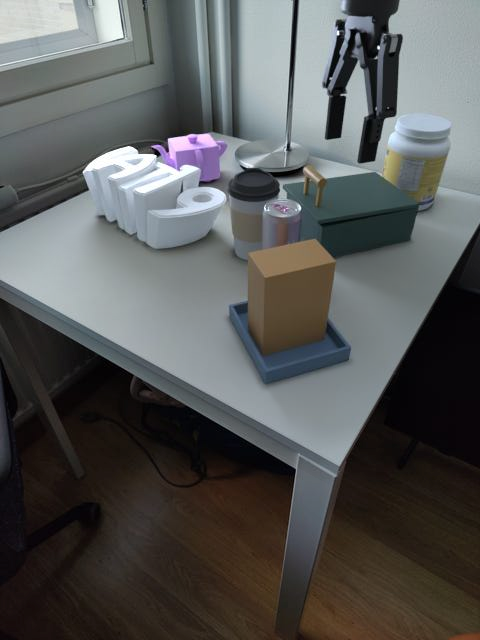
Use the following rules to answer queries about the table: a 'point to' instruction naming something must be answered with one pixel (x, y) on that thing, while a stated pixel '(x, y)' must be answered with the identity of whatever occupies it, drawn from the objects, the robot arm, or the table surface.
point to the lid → (347, 196)
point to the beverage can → (281, 223)
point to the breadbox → (359, 231)
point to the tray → (290, 350)
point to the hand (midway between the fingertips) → (348, 149)
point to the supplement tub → (418, 156)
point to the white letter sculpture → (152, 198)
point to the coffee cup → (250, 207)
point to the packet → (289, 295)
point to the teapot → (195, 154)
